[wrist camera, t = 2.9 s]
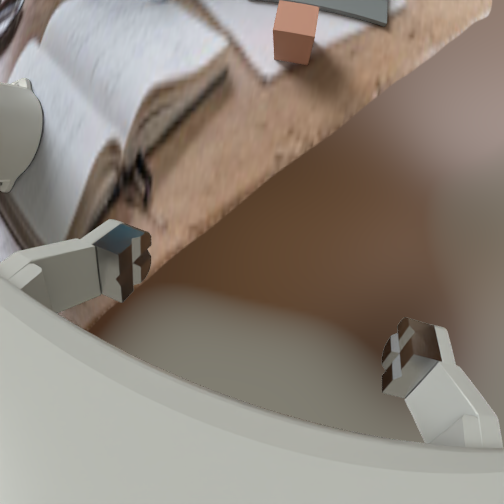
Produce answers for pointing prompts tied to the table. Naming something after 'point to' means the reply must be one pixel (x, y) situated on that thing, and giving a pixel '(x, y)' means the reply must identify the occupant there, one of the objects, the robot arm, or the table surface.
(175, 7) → the table surface
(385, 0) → the base plate
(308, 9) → the pillar block
